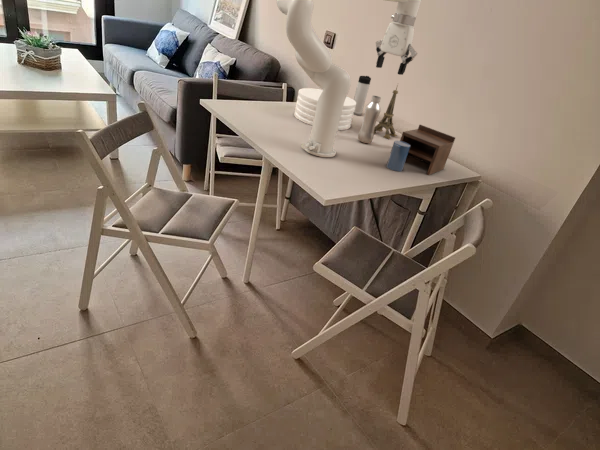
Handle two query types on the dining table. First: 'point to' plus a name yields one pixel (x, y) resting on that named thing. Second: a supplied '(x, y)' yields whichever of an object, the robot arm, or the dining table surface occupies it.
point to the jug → (398, 155)
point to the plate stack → (309, 102)
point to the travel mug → (361, 94)
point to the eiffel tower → (388, 115)
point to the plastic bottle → (370, 120)
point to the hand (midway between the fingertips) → (389, 70)
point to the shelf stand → (429, 146)
